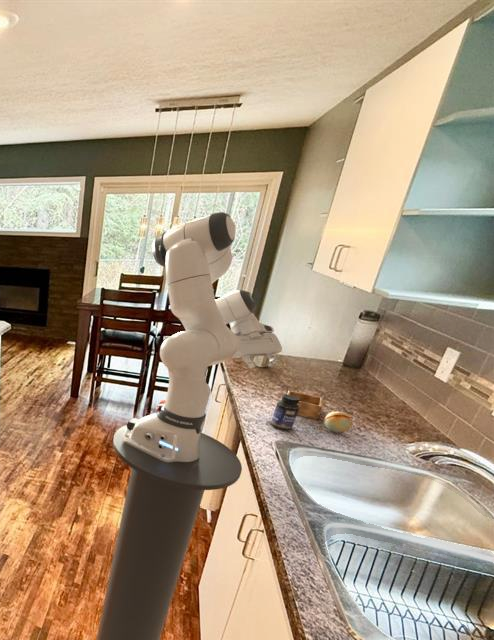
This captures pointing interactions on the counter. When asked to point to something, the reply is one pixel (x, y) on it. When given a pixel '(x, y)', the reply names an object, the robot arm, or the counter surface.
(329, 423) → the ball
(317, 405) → the holder
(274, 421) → the pill bottle
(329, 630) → the counter surface
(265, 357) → the beige rectangular block
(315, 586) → the counter surface
